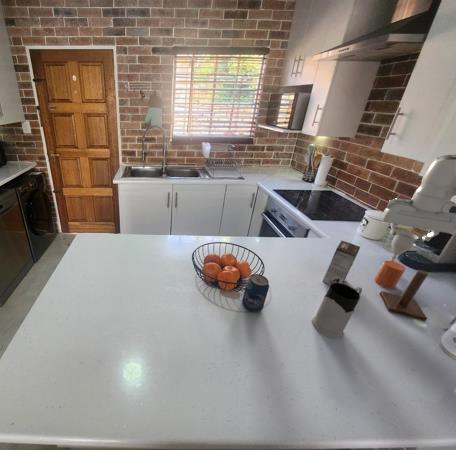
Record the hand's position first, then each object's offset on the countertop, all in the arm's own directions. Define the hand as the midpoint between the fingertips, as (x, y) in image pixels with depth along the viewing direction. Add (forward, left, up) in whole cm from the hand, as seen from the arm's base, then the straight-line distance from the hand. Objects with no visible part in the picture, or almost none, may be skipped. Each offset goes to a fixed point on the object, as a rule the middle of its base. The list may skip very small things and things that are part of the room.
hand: (408, 237), depth 92 cm
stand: (-2, +14, -21) cm, 26 cm away
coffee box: (+18, +8, -22) cm, 30 cm away
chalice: (-5, -12, -22) cm, 25 cm away
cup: (0, 0, -21) cm, 21 cm away
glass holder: (+22, +35, -22) cm, 47 cm away
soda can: (+48, +39, -22) cm, 65 cm away
